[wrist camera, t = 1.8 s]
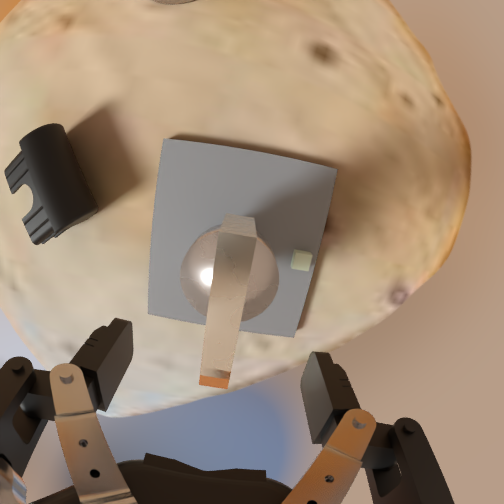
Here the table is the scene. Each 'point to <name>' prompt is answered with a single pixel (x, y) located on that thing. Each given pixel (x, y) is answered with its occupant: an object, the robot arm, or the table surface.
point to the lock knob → (227, 288)
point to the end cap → (50, 183)
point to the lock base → (244, 204)
